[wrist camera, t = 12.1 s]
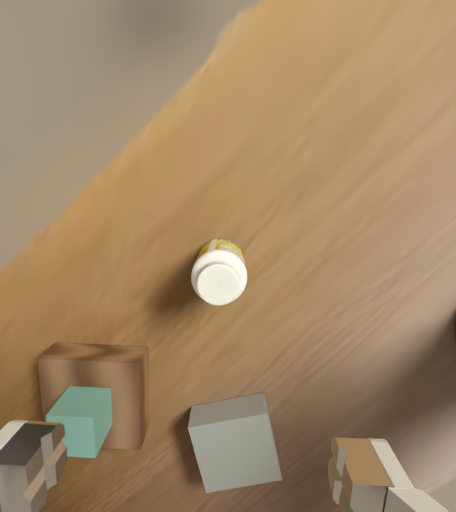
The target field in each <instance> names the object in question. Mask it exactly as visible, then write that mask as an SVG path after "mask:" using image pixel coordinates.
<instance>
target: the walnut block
mask: <svg viewBox="0 0 456 512" xmlns="http://www.w3.org/2000/svg"><path fill="white" fill-rule="evenodd" d="M37 361H38V373H39V385H40V396H41V408H42V419H43V422H46V415H47V413H48V412H49V411H50V410H51V408H52V407H53V406H54V405H55V403H56V402H57V401H58V400H59V398H60V397H61V396H62V395H63V394H64V392H65V391H66V390H67V389H68V387H69V386H74V387H95V388H111V400H112V426H111V428H110V430H109V432H108V434H107V436H106V438H105V440H104V442H103V444H102V446H101V448H108V449H129V450H141V447H142V444H143V441H144V438H145V435H146V432H147V429H148V347H141V346H120V345H99V344H78V343H57V342H55V343H54V344H53V345H52V346H51V347H50V348H49V349H48V350H46V351H45V352H44V353H43V354H42V355H41V356H40V357H39V358H37Z"/></svg>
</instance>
